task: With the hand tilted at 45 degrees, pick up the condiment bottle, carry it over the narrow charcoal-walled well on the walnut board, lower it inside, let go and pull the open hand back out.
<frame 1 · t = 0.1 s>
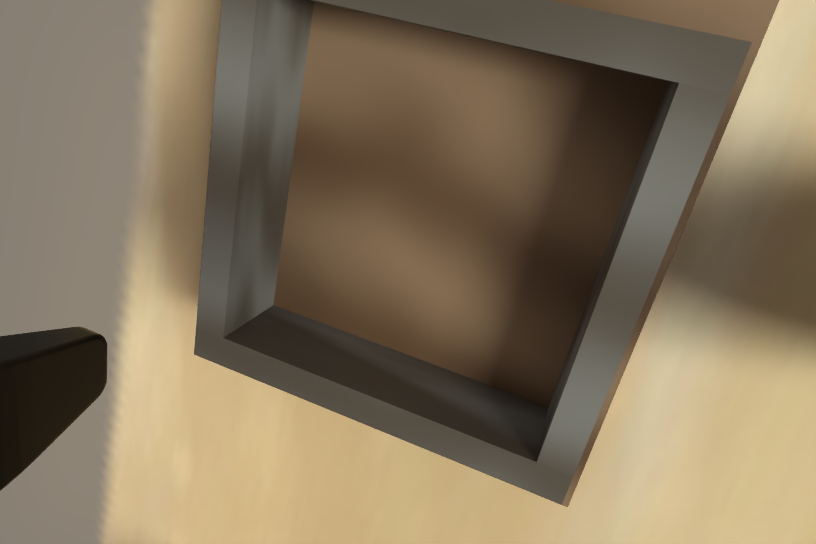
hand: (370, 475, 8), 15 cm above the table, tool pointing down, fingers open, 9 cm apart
well caddy: (442, 208, 22), on the table
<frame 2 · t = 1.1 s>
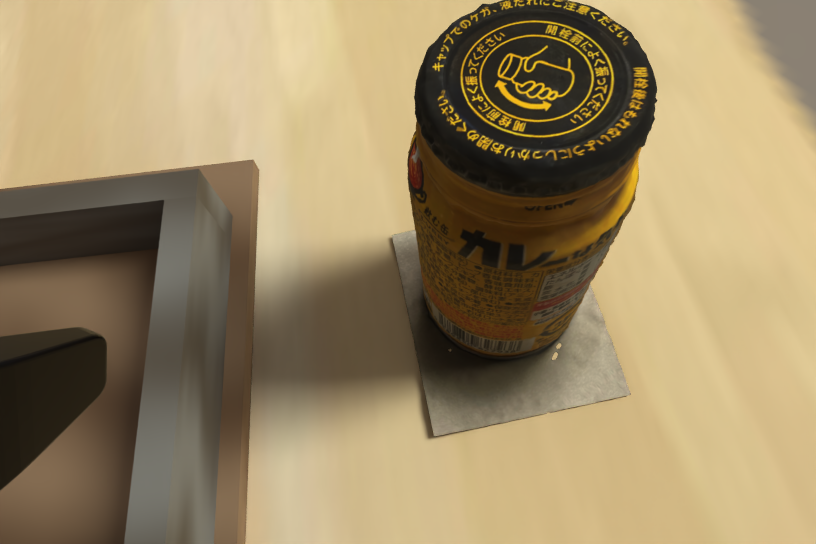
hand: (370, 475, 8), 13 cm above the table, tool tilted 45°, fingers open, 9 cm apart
condiment: (501, 312, 23), on the table
well caddy: (51, 404, 23), on the table
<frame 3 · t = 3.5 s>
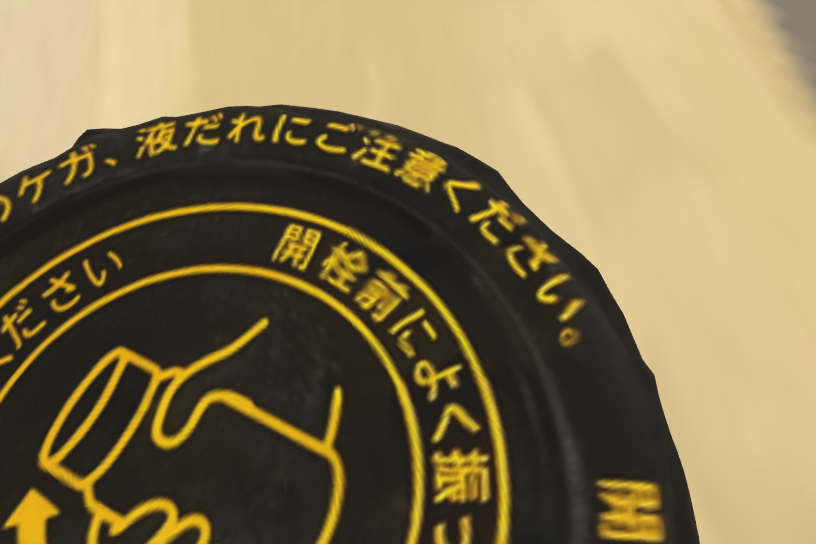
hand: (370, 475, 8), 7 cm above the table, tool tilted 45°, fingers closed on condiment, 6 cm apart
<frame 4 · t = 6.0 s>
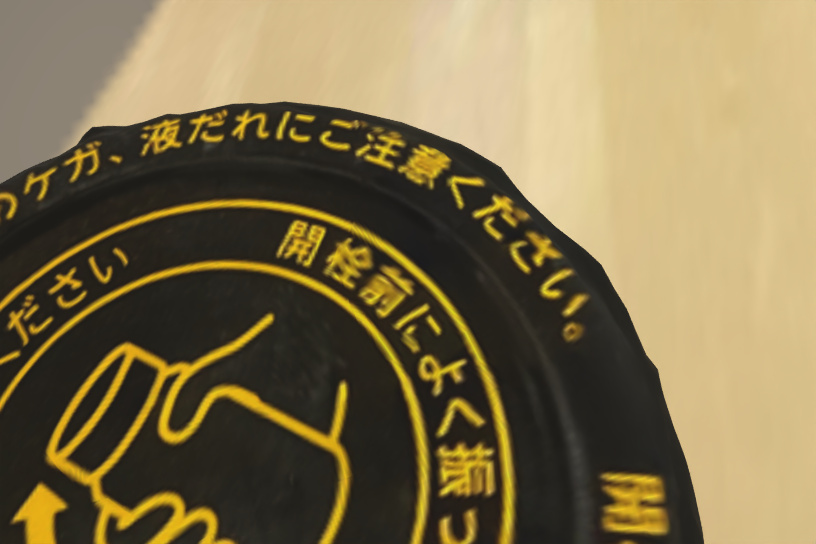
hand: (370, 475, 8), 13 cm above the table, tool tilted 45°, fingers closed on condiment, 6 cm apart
when the fingers open (9 cm above the table, at t = 8.4 s): condiment drops 2 cm, resting on well caddy.
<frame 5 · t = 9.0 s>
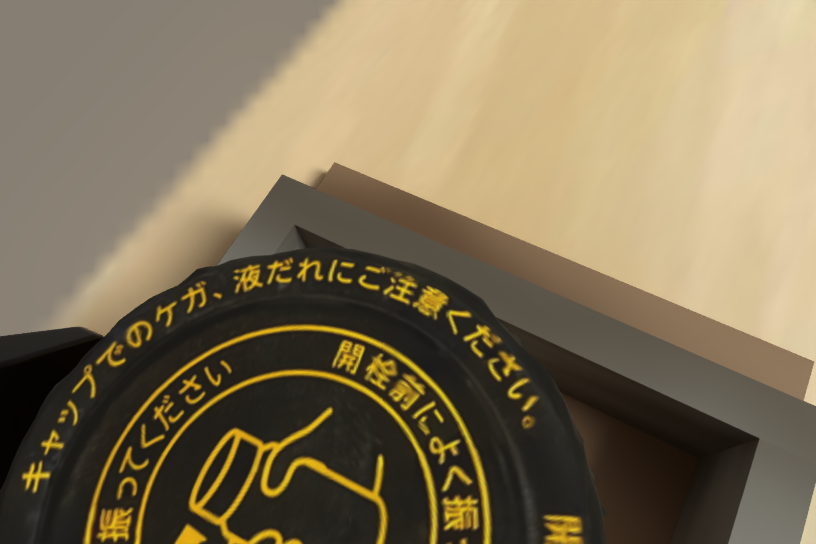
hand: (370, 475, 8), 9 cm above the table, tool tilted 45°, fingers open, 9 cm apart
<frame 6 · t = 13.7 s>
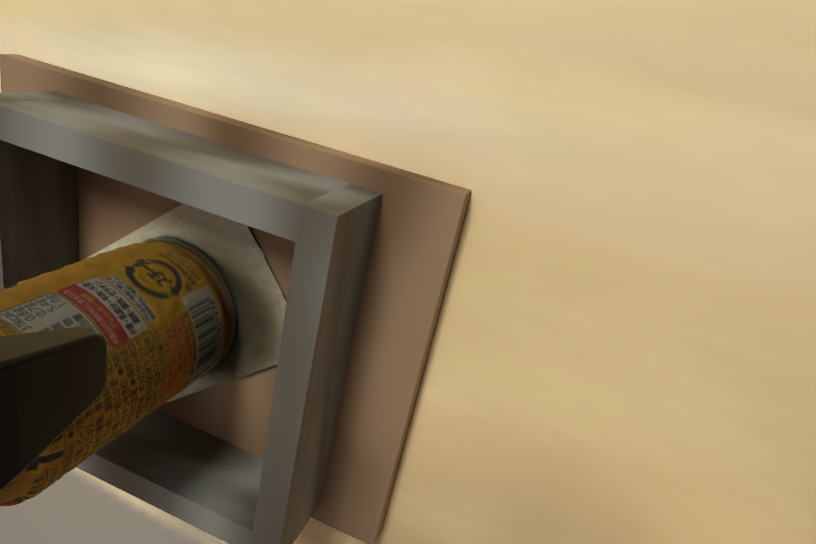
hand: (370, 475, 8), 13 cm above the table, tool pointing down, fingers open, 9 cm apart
condiment: (198, 299, 24), point 1 cm above the table, touching well caddy
well caddy: (204, 301, 25), on the table
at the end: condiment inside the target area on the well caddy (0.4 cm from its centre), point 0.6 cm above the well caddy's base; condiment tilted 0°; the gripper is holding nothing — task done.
